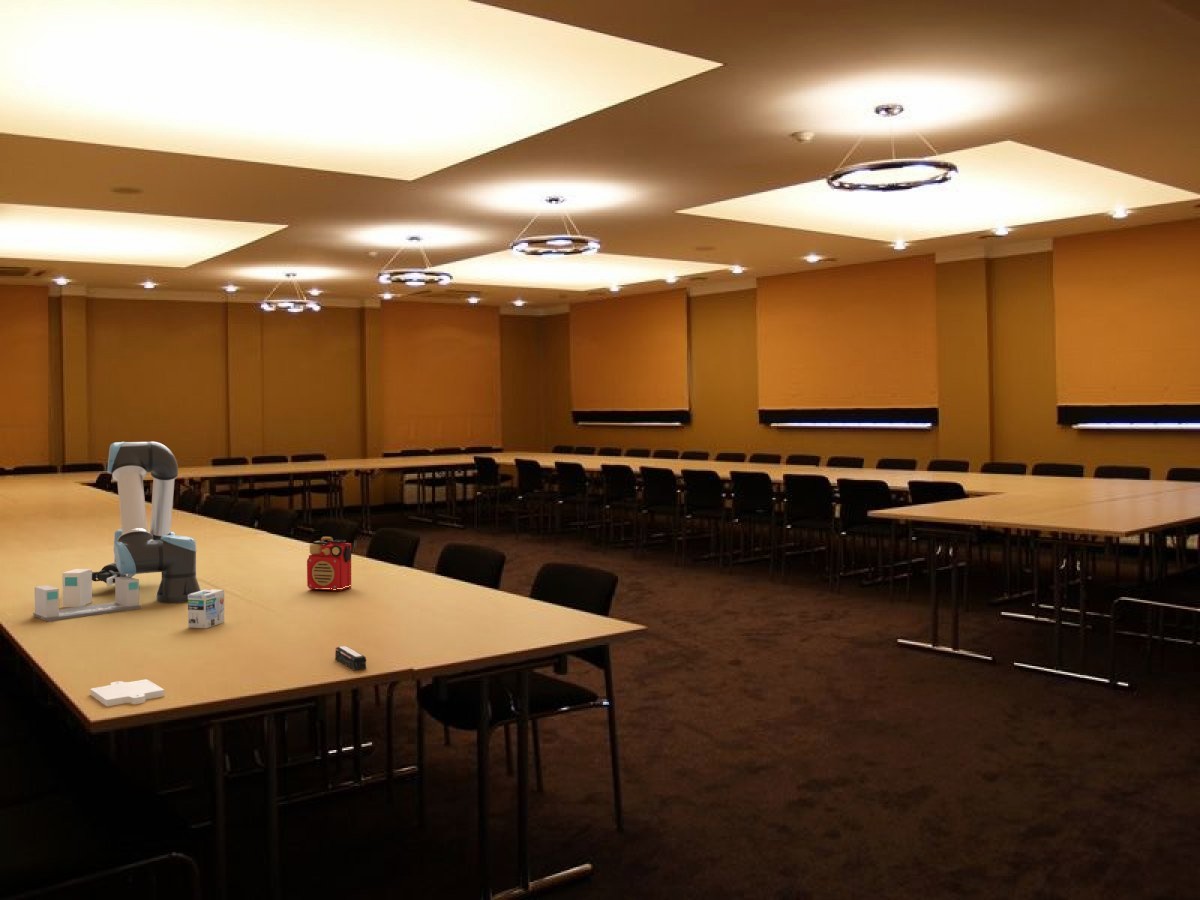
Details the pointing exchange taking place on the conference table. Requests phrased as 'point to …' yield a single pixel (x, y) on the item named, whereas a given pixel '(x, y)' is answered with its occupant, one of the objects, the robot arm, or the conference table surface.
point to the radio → (329, 564)
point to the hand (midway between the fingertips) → (88, 582)
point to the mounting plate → (127, 692)
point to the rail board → (88, 611)
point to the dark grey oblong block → (350, 658)
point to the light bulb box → (205, 608)
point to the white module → (77, 587)
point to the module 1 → (46, 601)
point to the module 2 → (127, 591)
